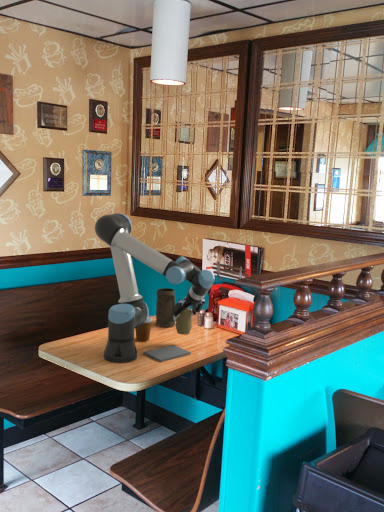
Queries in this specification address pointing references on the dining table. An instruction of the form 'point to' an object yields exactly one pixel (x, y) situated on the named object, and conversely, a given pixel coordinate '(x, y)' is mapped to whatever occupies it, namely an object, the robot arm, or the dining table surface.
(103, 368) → the dining table surface
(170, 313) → the dark brown bag
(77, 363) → the dining table surface
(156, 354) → the rubber mat
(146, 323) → the disposable coffee cup
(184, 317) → the squeeze bottle
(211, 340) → the dining table surface
